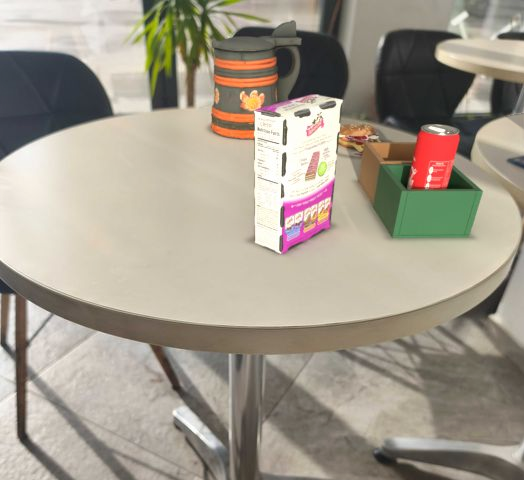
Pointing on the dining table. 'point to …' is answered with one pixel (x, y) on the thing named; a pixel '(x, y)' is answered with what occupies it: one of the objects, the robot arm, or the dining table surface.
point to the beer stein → (250, 79)
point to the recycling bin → (425, 205)
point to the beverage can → (433, 157)
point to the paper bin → (382, 161)
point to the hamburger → (357, 136)
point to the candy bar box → (294, 169)
